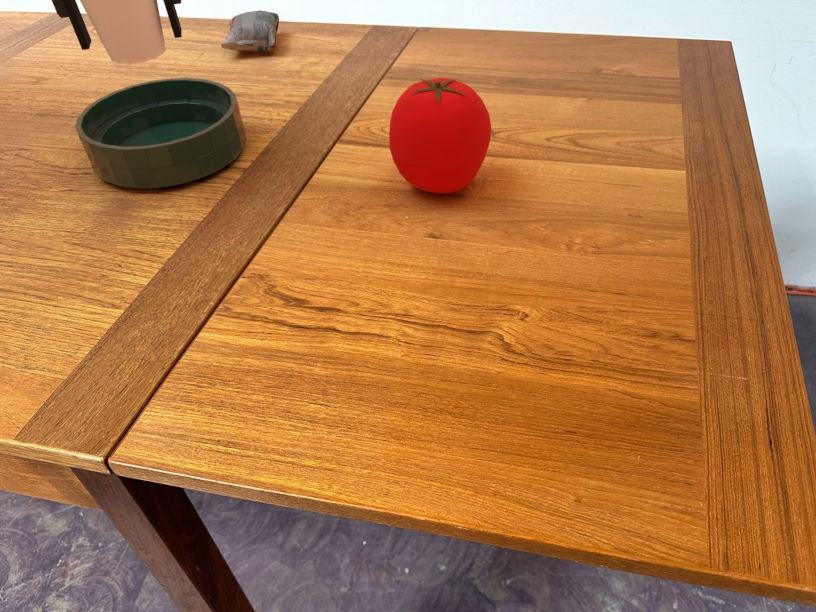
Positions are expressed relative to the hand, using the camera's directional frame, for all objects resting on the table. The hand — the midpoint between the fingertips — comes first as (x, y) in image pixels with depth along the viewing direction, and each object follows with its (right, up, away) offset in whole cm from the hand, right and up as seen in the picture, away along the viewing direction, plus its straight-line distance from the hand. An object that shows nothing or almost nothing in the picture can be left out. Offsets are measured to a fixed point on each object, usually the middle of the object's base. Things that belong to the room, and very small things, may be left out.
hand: (133, 39), depth 77 cm
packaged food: (+3, +15, +36) cm, 39 cm away
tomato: (+36, -16, +4) cm, 40 cm away
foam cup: (0, -1, +1) cm, 2 cm away
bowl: (0, -10, +10) cm, 15 cm away
